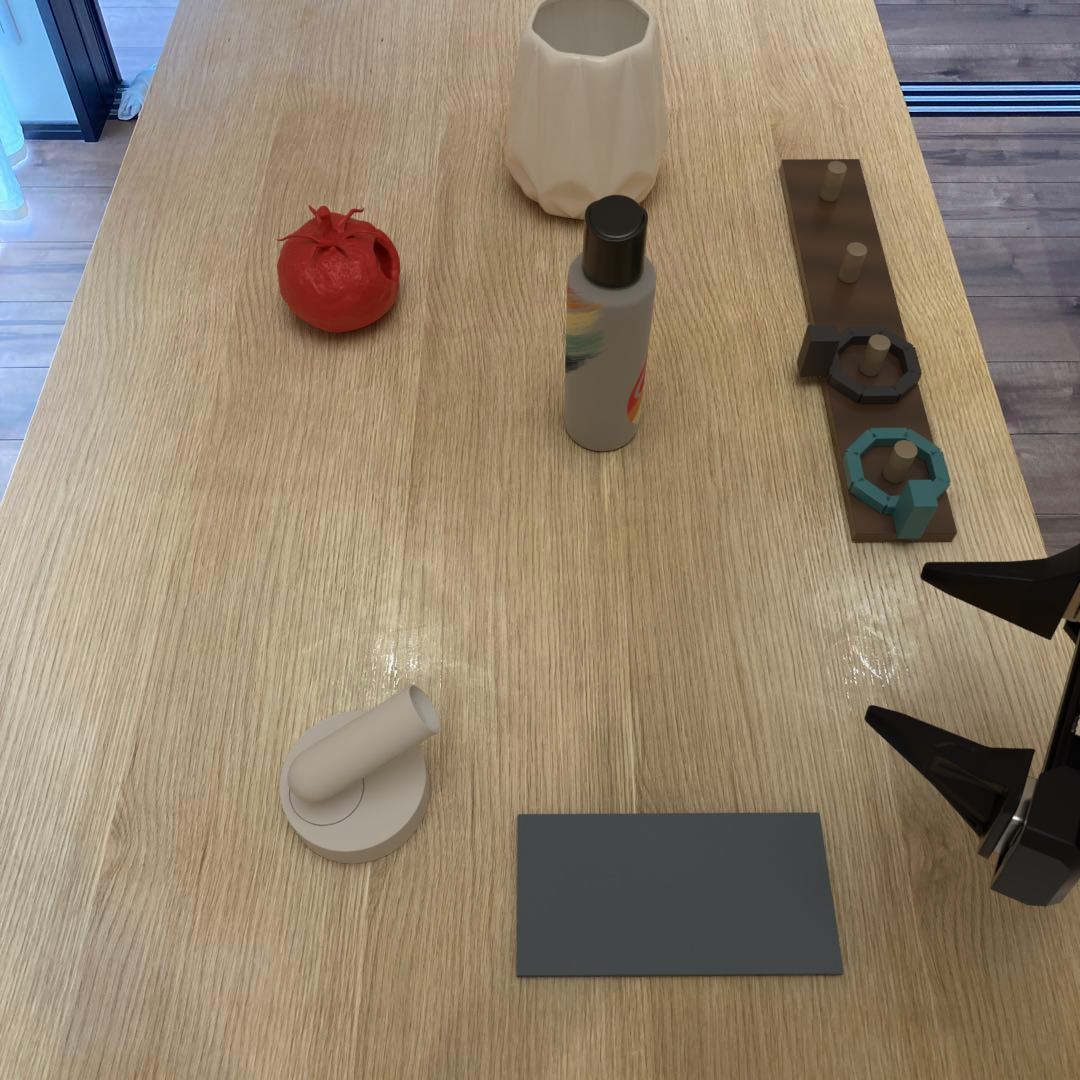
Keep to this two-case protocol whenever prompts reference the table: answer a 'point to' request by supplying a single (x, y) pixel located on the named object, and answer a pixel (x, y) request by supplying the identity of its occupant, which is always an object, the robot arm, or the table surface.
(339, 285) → the pomegranate
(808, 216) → the peg rack
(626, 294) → the lotion bottle
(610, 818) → the mat
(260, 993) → the table surface
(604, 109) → the vase
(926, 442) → the ring teal
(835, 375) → the ring charcoal
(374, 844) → the wall hook
